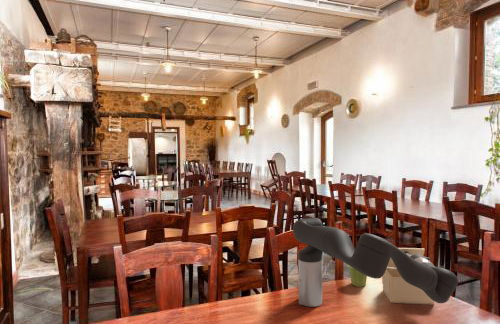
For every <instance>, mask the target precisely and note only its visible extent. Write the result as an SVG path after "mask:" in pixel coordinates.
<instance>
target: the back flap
mask: <svg viewBox="0 0 500 324" xmlns="http://www.w3.org/2000/svg"><path fill="white" fill-rule="evenodd" d="M398 248H399V249H400V250H402V251H403V252H409V253H410V254H413V255H415V254H419V255H422V256H424V255H425V248H423V247H422V248H417V247H398ZM387 267H388V268H396V266H395V264H394V262H393V260H392V259H391V258H390V261H389V263H388V266H387Z"/></svg>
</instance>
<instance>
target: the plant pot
mask: <svg viewBox="0 0 500 324" xmlns="http://www.w3.org/2000/svg"><path fill="white" fill-rule="evenodd" d="M347 267H348V270H349V276H350V282H351V283H350V284H351V285H352V286H354V287H359V288H361V287H365V286H366V285H367V277H368V276H366V275H364V274H362V273H360V272H358V271H357V270H355V269H354V268H352V267H351V266H349V265H347Z"/></svg>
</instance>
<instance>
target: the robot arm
mask: <svg viewBox="0 0 500 324" xmlns="http://www.w3.org/2000/svg"><path fill="white" fill-rule="evenodd" d="M292 233H293V236H294V238H295V239H296V240H297V242H299V243H301V244H304V245H307V246H306V247H304V248H302V249H300V250H299V251H298V253H297V257H298V258H297V259H298V260H297V262H298V305H301V306H305V307H312V308H313V307H319V306H321V305H322V304H323V253H324V254H326V255H328V256H330V257H332V258H334V259H337V260H339V261H340V262H343V263H344V264H346V265H347V266H348V265H349V266H351V267H352V268H354V269H355V270H357V271H358V272H360V273H362V274H364V275H366V276H367V277H369V278H371V279H375V280H376V279H382V276H383V275H384V273H385V271H386V268H387V266H388V263H389V261H390V258H391V259H392V260H393V262H394V264H395V266H396V267H395V268H397V270H398V272H399V274H400V276H401V277H402V278H403V279H404V280H405V281H406V282H407V283H409V284H411V285H413V286H415V287H417V288H420V289H421V290H423V291H424V292H425V293H426V295H427V296H428V297H429V298H431V299H432V300H433V301H434V303H437V304H446V303H447V302H448V301H449V300H450V298H451V297H452V295H453V293H454V292H455V290H456V288H457V287H458V285H459V279H458V276H457V275H456V274H455V273H454V272H452V271H451V270H450V269H446V268H443V267H438V266H436V265H434V263H432V262H431V258H430V257H427V256H424V255H423V256H422V255H419V254H415V255H413V254H410V253H409V252H403V251H402V250H400V249H399V248H400V247H398V246H396V245H394V244H393V243H391V242H390V241H389V240H387V239H385V238H383V237H380V236H378V235H375V234H374V233H373V234H372V233H370V232H369V233H367V232H364V233H362V234H361V235H360V236H359V238H358V241H357V244H356V246H355V247H354V244H353V242H352V240H351V237H350V235H349V234H348V233H347V232H346V231H345V230H342V229H340V228H337V227H333V226H328V225H327V226H326V225H325V226H324V224H323V222H322V220H321V219H320V218H318V217H311V218H310V217H309V218H300V219H298V220H296V221H295V222H294V224H293V226H292Z"/></svg>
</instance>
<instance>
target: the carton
mask: <svg viewBox="0 0 500 324" xmlns="http://www.w3.org/2000/svg"><path fill="white" fill-rule="evenodd" d="M381 281H382V283H381V284H382V292H383V293H384V295H385V296H386V297H387V299H388V301H389V303H391V304H405V305H407V304H410V305H411V304H412V305H432V306H433V305H435V301H433V300H432V299H431V298H429V297H428V296H427V295H426V293H425V292H424V291H423V290H421V289H420V288H417V287H415V286H413V285H411V284H409V283H407V282H406V281H405V280H404V279H403V278H402V277H401V276H400V274H399V272H398V270H397V268H396V267H387V268H386V271H385V273H384V275H383V276H382V277H381Z"/></svg>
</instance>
